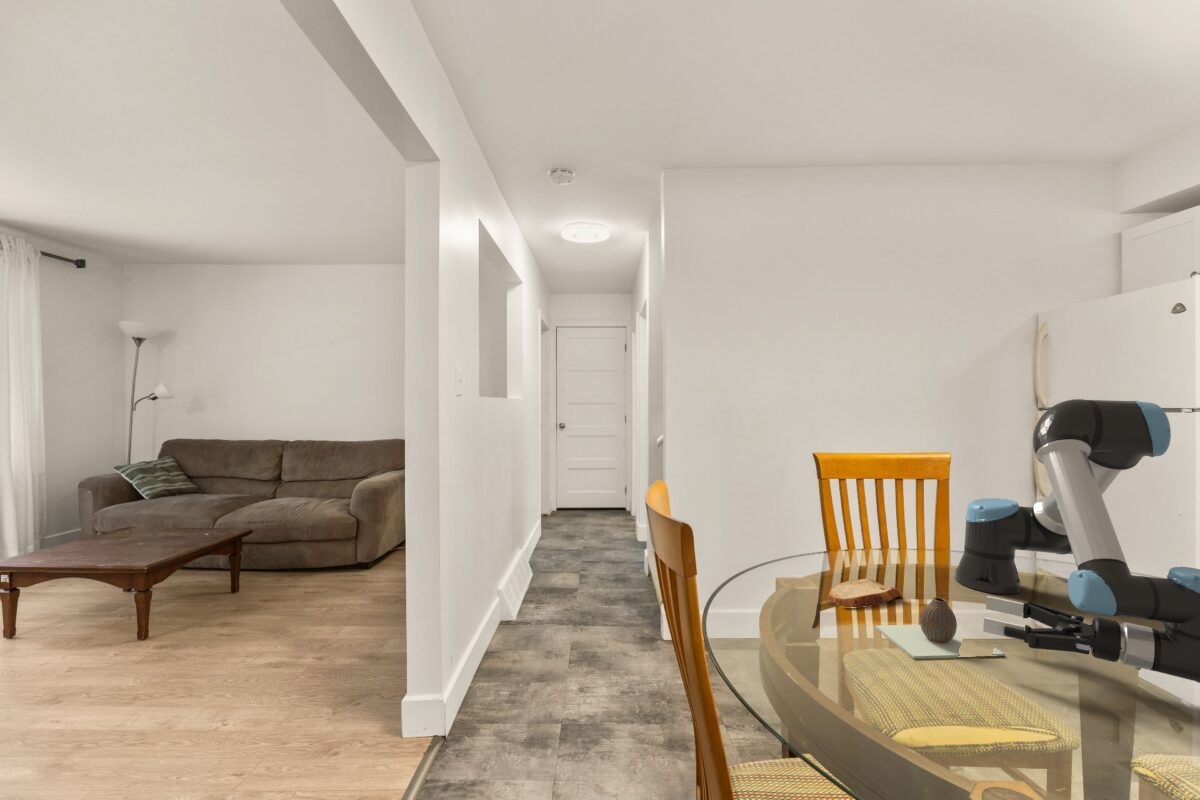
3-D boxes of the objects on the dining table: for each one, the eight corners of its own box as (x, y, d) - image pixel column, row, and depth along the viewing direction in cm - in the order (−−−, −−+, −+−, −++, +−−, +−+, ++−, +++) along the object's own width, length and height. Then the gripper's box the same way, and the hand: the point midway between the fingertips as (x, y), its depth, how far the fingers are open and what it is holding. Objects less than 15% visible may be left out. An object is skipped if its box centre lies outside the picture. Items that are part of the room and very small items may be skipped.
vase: (912, 631, 133) (914, 593, 132) (941, 631, 134) (944, 592, 133) (932, 646, 126) (935, 606, 125) (963, 646, 127) (966, 605, 126)
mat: (957, 626, 138) (957, 623, 138) (1004, 656, 124) (1004, 653, 124) (875, 628, 136) (875, 625, 136) (913, 659, 122) (913, 656, 122)
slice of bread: (829, 608, 147) (830, 593, 147) (823, 582, 164) (824, 569, 164) (910, 618, 142) (911, 603, 142) (895, 591, 159) (896, 577, 159)
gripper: (1128, 690, 102) (981, 653, 114) (1109, 637, 123) (986, 610, 135) (1131, 648, 102) (983, 615, 114) (1112, 601, 122) (988, 577, 134)
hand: (984, 612), depth 124 cm, fingers open, 13 cm apart
